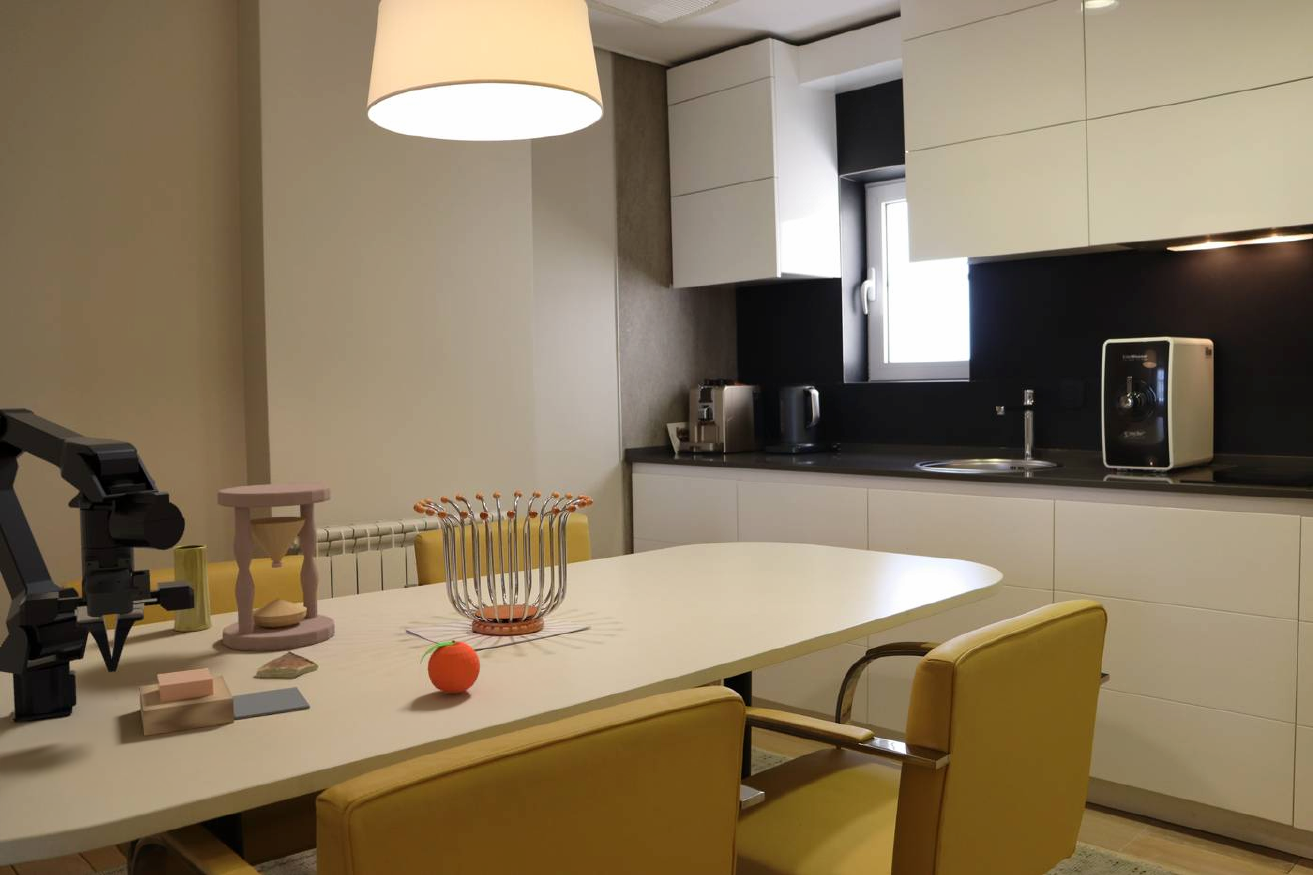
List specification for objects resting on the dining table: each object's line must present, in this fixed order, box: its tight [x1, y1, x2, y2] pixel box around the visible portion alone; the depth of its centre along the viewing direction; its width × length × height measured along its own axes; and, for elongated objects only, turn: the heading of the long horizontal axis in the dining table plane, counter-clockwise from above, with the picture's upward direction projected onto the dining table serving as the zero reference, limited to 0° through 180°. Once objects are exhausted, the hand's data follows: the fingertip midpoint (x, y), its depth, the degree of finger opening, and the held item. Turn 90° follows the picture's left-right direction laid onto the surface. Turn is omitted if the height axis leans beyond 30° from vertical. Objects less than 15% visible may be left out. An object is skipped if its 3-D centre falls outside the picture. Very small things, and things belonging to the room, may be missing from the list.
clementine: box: [419, 640, 481, 695], centre depth 142 cm, size 8×7×7 cm
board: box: [139, 675, 235, 737], centre depth 134 cm, size 10×12×3 cm
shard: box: [256, 651, 319, 679], centre depth 156 cm, size 11×8×2 cm
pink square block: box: [156, 667, 213, 702], centre depth 133 cm, size 6×6×2 cm
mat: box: [232, 686, 311, 720], centre depth 138 cm, size 9×10×1 cm
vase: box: [172, 544, 213, 633], centre depth 183 cm, size 6×6×14 cm
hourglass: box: [217, 482, 336, 652], centre depth 175 cm, size 18×18×25 cm
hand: (112, 671), depth 130 cm, fingers closed
